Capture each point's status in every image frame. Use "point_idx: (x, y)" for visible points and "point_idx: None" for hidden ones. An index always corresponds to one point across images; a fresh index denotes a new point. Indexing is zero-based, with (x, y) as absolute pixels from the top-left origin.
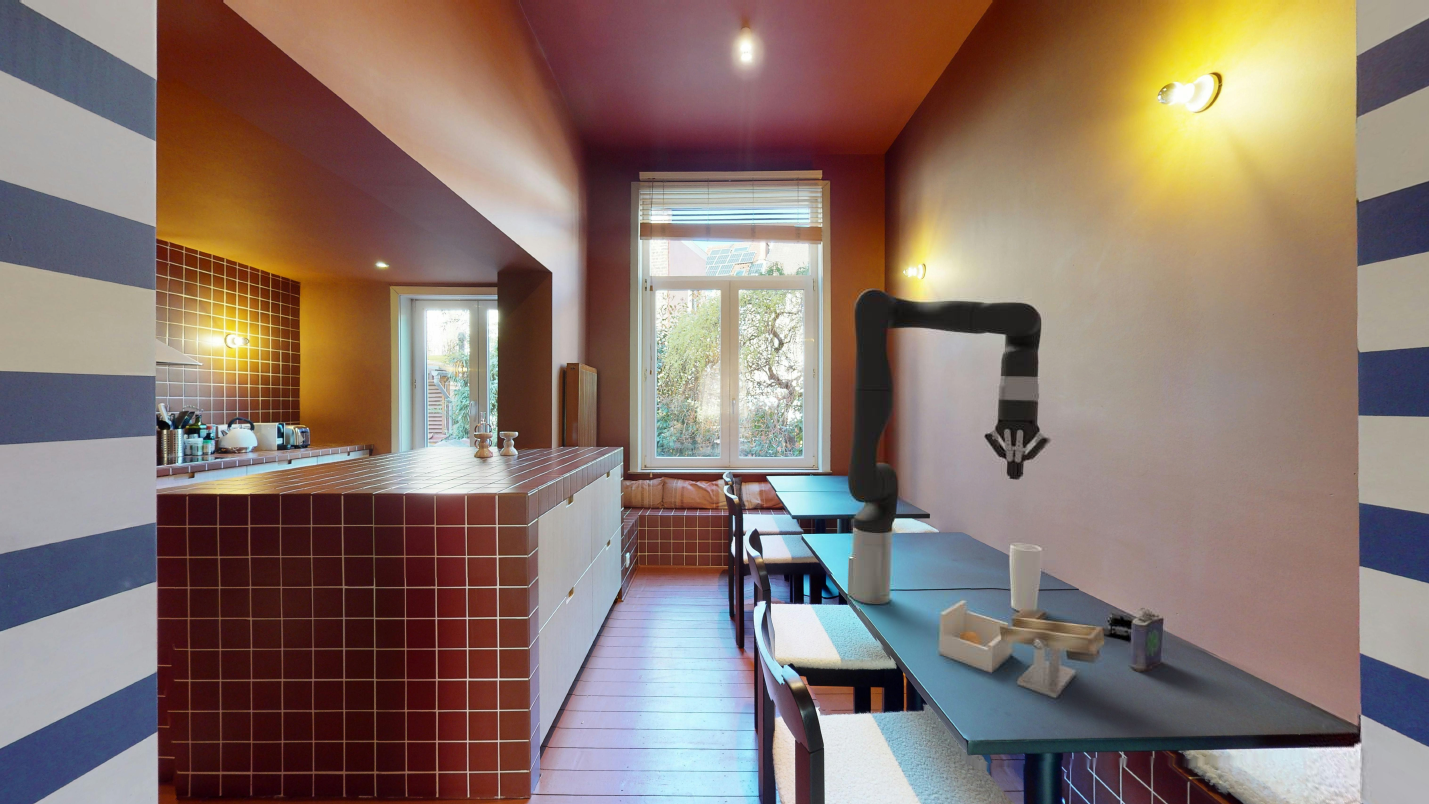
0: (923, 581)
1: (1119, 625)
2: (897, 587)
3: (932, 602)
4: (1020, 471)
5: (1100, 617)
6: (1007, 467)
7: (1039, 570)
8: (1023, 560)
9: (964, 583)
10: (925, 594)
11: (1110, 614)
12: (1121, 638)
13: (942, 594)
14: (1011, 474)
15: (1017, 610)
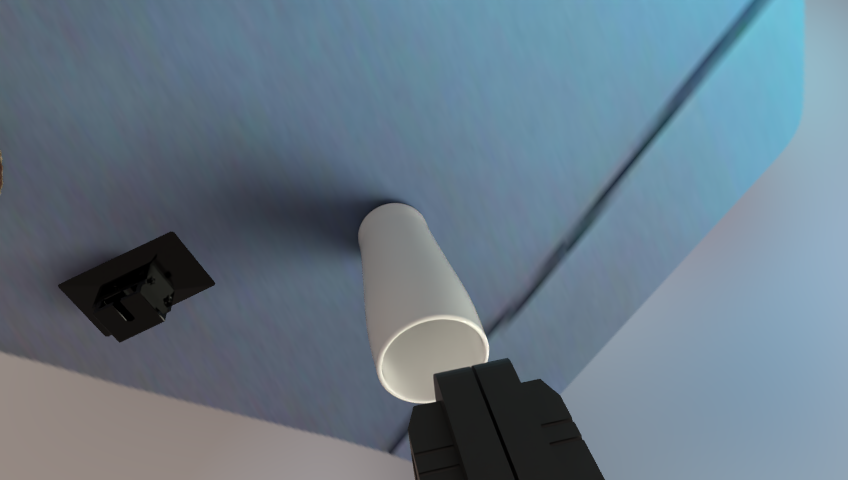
0: (691, 179)
1: (126, 287)
2: (739, 54)
3: (604, 32)
4: (423, 462)
5: (239, 352)
6: (583, 451)
7: (365, 313)
8: (411, 292)
9: (594, 269)
10: (647, 79)
11: (164, 316)
12: (121, 262)
13: (607, 129)
14: (501, 390)
15: (396, 203)
